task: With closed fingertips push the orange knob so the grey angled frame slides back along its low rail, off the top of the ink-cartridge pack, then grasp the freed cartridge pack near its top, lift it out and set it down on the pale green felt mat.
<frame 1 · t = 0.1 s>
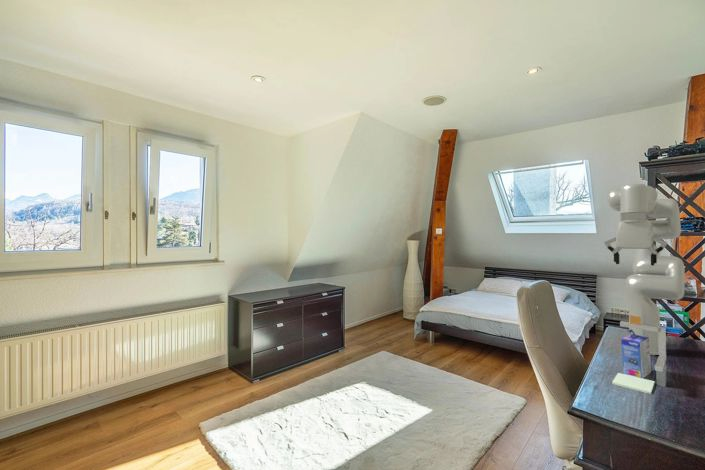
hand: (634, 264, 117), 37 cm above the table, tool pointing down, fingers open, 9 cm apart
grey angled frame: (639, 340, 105), point 13 cm above the table, slide at 0.0 cm
rail block: (661, 383, 101), on the table
felt pad: (633, 383, 102), on the table
ink cartridge box: (636, 374, 110), on the table
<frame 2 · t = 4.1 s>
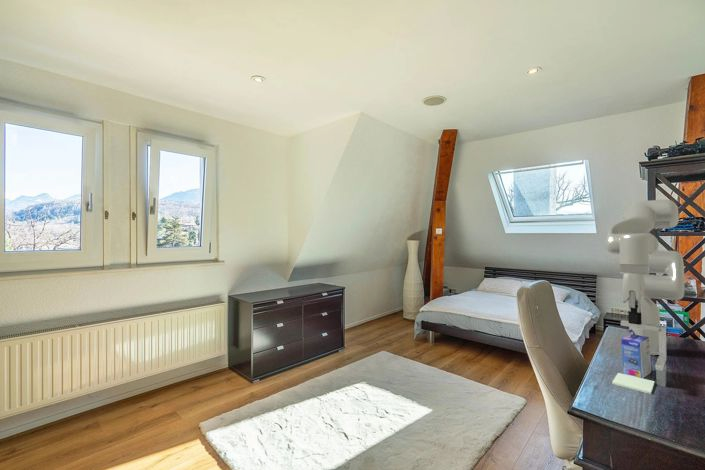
hand: (635, 323, 109), 17 cm above the table, tool pointing down, fingers closed
grey angled frame: (640, 339, 106), point 13 cm above the table, slide at 1.4 cm, touching gripper
everything else where it was.
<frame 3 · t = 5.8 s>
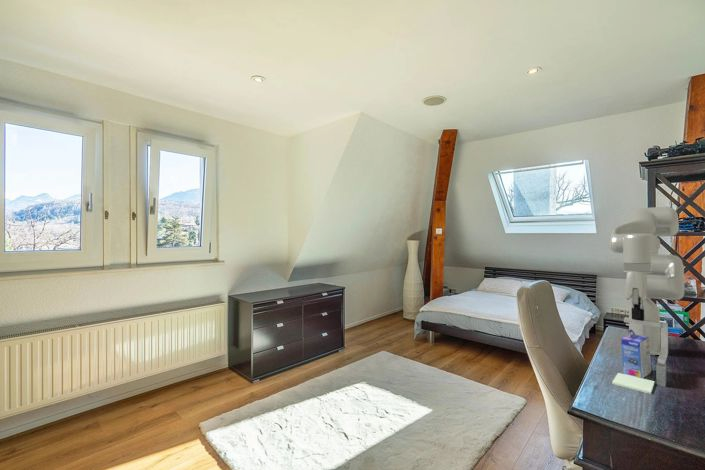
hand: (637, 319, 114), 17 cm above the table, tool pointing down, fingers closed
grey angled frame: (643, 335, 110), point 13 cm above the table, slide at 8.6 cm, touching gripper
everything else where it was.
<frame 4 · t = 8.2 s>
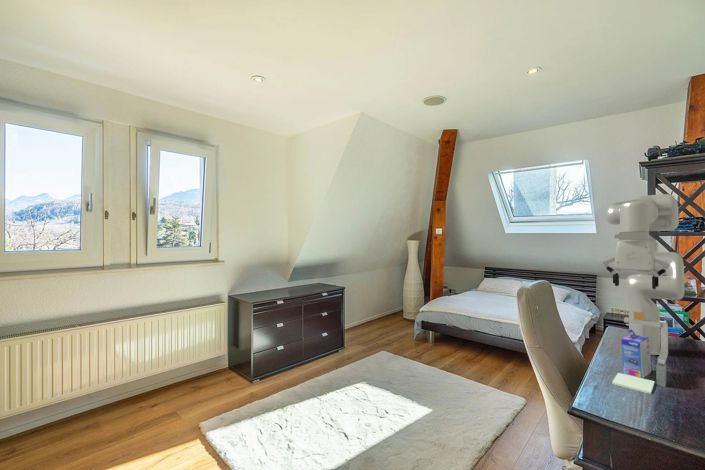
hand: (635, 287, 110), 29 cm above the table, tool pointing down, fingers open, 9 cm apart
grey angled frame: (643, 335, 110), point 13 cm above the table, slide at 8.6 cm
everything else where it was.
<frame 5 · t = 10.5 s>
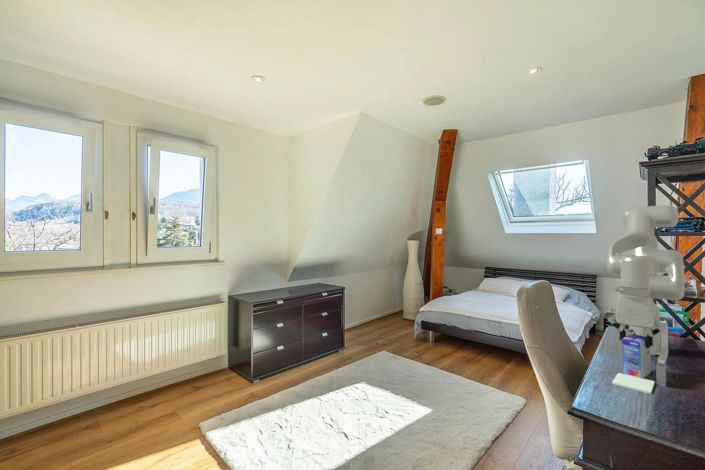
hand: (635, 344, 110), 10 cm above the table, tool pointing down, fingers closed on ink cartridge box, 5 cm apart
ink cartridge box: (636, 373, 110), on the table, touching gripper
everything else where it was.
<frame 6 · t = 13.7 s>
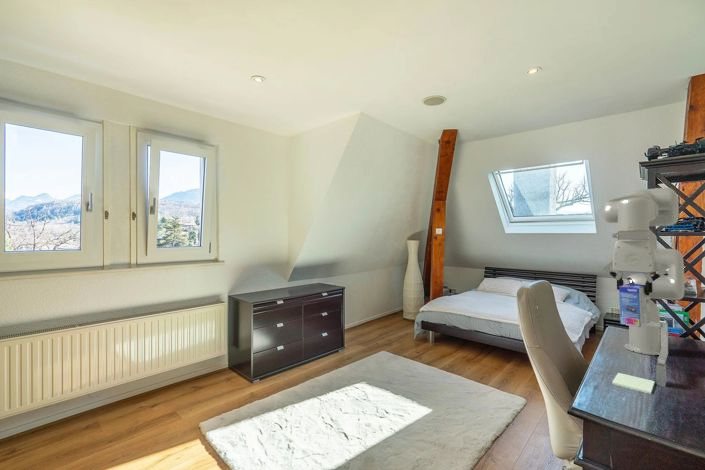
hand: (634, 292, 102), 29 cm above the table, tool pointing down, fingers closed on ink cartridge box, 5 cm apart
ink cartridge box: (634, 324, 102), point 19 cm above the table, touching gripper
everything else where it was.
when the fingers open (12 cm above the table, at t = 17.1 s): ink cartridge box drops 2 cm, resting on felt pad.
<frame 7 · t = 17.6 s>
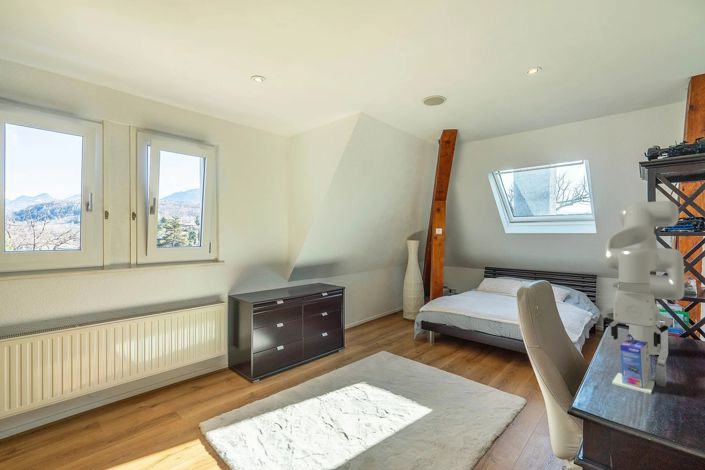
hand: (635, 342, 102), 13 cm above the table, tool pointing down, fingers open, 9 cm apart
ink cartridge box: (635, 382, 102), resting on felt pad
everything else where it was.
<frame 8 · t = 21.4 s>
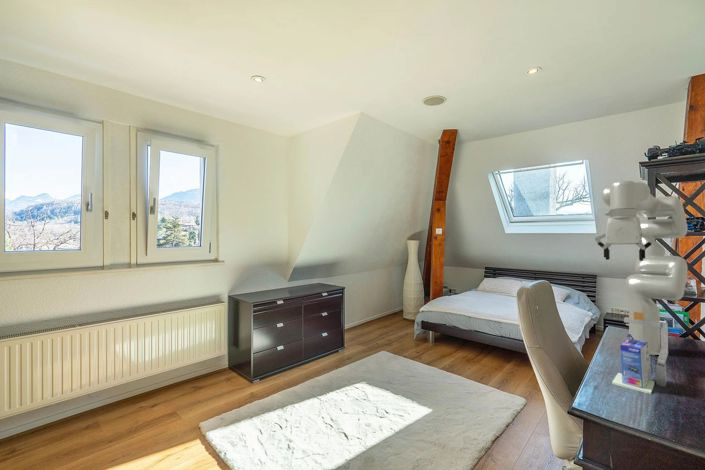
hand: (623, 260, 120), 38 cm above the table, tool pointing down, fingers open, 9 cm apart
nothing on the table moved.
at the end: grey angled frame slide at 8.6 cm; ink cartridge box inside the target area on the felt pad (0.9 cm from its centre), point 0.4 cm above the felt pad's base; ink cartridge box tilted 0° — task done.
